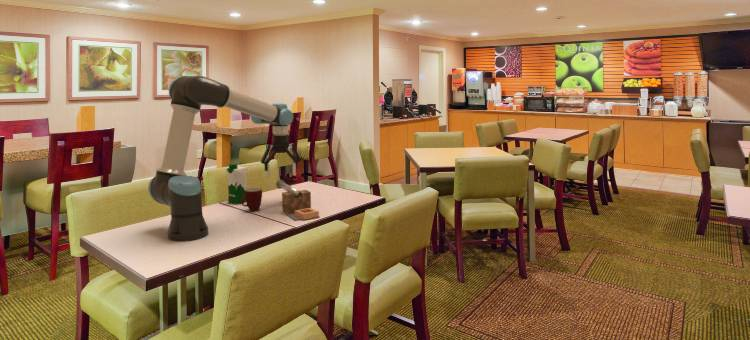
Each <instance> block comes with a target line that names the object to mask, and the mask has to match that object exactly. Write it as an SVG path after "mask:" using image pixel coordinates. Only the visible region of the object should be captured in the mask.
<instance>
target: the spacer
mask: <svg viewBox="0 0 750 340" xmlns="http://www.w3.org/2000/svg"><path fill="white" fill-rule="evenodd" d="M295 216H296V217H298V218H301V219H303V220H304V219H305V220H310V219H309V218H312V219H315V218H314V217H319V216H320V211H319V210H317V209H314V208H312V207H311V208H306V209H300V210H295ZM319 218H320V217H319ZM303 220H302V221H303Z"/></svg>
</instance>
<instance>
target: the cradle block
mask: <svg viewBox="0 0 750 340" xmlns="http://www.w3.org/2000/svg"><path fill="white" fill-rule="evenodd" d="M298 191H299V192H300V196H299V197H295V196H294V194H293V193H292V192H287V191H283V192H281V202H282V203H281V204H282V213H283V214H285V215H286V216H287V214H292V213H295V210H300V209H306V208H312V195H311V193H312V192H311V191H309V190H307V189H302V190H300V189H299V190H298Z"/></svg>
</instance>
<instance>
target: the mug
mask: <svg viewBox="0 0 750 340" xmlns="http://www.w3.org/2000/svg"><path fill="white" fill-rule="evenodd" d="M262 198H263V190H262V188H259V187H252V188H251V187H250V188H247V189H245V196H244V197H242V199H241V205H242V206H243V207H247V208H248V210H250V212H256V211H259V209H260V207H261V205H262V201H263V200H262ZM244 199H246V202H245V203H246V204H245V203H243V200H244Z"/></svg>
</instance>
